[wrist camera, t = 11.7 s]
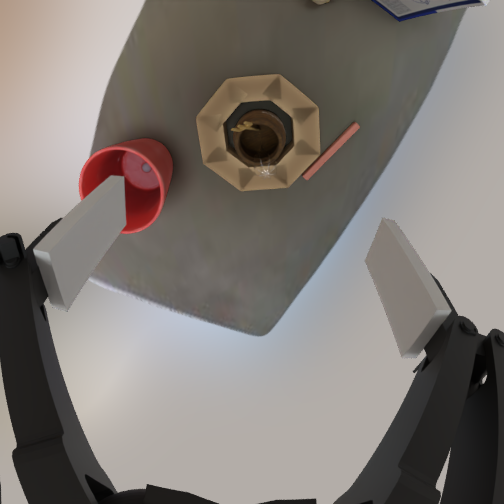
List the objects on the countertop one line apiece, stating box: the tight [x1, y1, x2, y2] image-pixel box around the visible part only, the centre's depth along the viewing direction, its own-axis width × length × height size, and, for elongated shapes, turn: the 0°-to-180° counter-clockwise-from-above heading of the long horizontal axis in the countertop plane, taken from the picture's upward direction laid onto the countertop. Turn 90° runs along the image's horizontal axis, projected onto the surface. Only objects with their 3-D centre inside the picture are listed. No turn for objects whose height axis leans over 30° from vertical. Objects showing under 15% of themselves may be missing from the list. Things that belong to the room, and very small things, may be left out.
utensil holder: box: [231, 109, 286, 179], centre depth 30 cm, size 6×6×12 cm
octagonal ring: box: [196, 74, 320, 191], centre depth 34 cm, size 14×14×3 cm
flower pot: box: [79, 138, 173, 234], centre depth 34 cm, size 11×11×10 cm
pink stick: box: [302, 122, 360, 180], centre depth 36 cm, size 10×1×1 cm, turn 141°
